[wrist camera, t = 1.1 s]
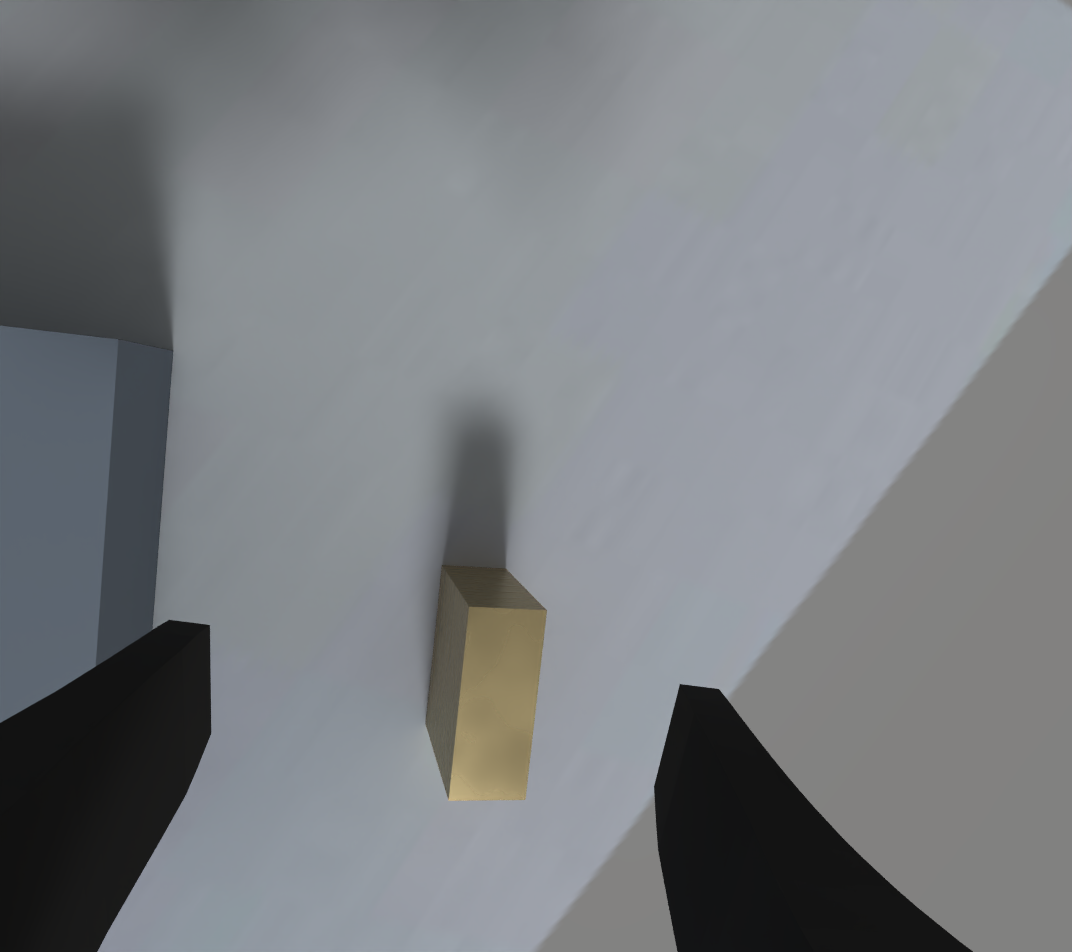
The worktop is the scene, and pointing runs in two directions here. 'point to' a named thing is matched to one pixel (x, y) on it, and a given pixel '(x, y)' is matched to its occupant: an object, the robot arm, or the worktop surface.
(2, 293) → the worktop surface
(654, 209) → the worktop surface
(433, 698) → the block
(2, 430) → the slot box
